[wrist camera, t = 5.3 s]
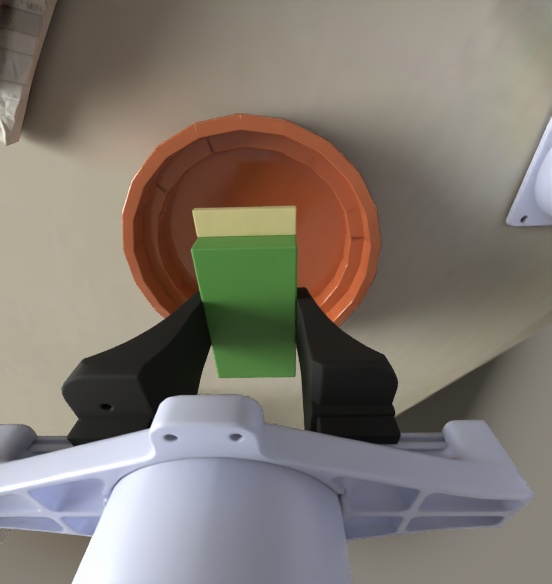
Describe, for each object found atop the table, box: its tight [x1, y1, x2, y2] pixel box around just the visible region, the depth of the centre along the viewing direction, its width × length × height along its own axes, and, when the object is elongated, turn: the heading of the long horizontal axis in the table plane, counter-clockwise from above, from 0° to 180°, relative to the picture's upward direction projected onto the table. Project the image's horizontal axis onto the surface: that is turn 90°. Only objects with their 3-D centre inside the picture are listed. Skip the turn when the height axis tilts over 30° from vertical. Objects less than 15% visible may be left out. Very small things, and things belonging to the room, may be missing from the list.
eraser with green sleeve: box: [191, 206, 298, 378], centre depth 14 cm, size 4×10×3 cm, turn 2°
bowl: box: [122, 114, 381, 348], centre depth 19 cm, size 16×16×4 cm
